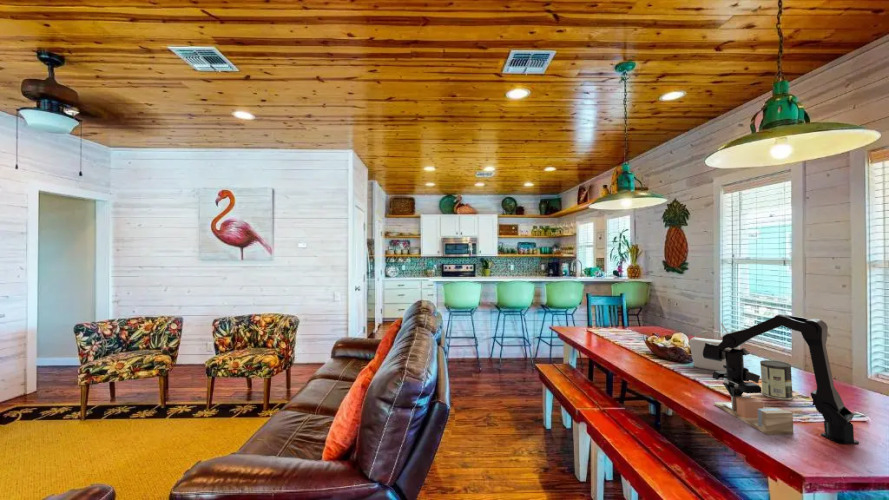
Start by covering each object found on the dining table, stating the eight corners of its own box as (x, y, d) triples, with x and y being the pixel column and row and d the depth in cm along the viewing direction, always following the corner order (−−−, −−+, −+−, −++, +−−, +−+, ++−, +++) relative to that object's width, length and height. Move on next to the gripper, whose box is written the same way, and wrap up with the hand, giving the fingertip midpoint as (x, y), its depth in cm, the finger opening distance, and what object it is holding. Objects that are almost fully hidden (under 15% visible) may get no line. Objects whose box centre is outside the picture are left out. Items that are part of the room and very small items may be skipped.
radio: (742, 371, 195) (740, 323, 195) (739, 375, 189) (737, 326, 189) (693, 363, 211) (691, 319, 211) (689, 366, 205) (687, 321, 205)
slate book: (785, 428, 130) (784, 411, 131) (765, 429, 131) (764, 412, 131) (777, 424, 133) (777, 408, 134) (758, 425, 134) (757, 408, 134)
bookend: (751, 410, 145) (750, 396, 145) (733, 410, 145) (732, 396, 146) (739, 404, 151) (739, 390, 151) (722, 404, 151) (722, 391, 151)
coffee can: (782, 391, 166) (780, 360, 166) (799, 400, 156) (797, 367, 156) (756, 390, 168) (754, 359, 168) (771, 399, 158) (769, 366, 158)
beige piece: (793, 434, 128) (792, 412, 128) (767, 434, 129) (766, 413, 129) (736, 404, 154) (735, 386, 154) (714, 404, 155) (713, 386, 155)
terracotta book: (763, 417, 139) (763, 401, 140) (745, 418, 140) (744, 402, 140) (755, 413, 143) (754, 397, 144) (737, 413, 144) (736, 397, 144)
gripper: (775, 370, 139) (777, 412, 139) (737, 357, 158) (739, 393, 158) (745, 371, 139) (747, 413, 139) (710, 357, 158) (712, 394, 158)
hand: (736, 402), depth 148 cm, fingers closed
